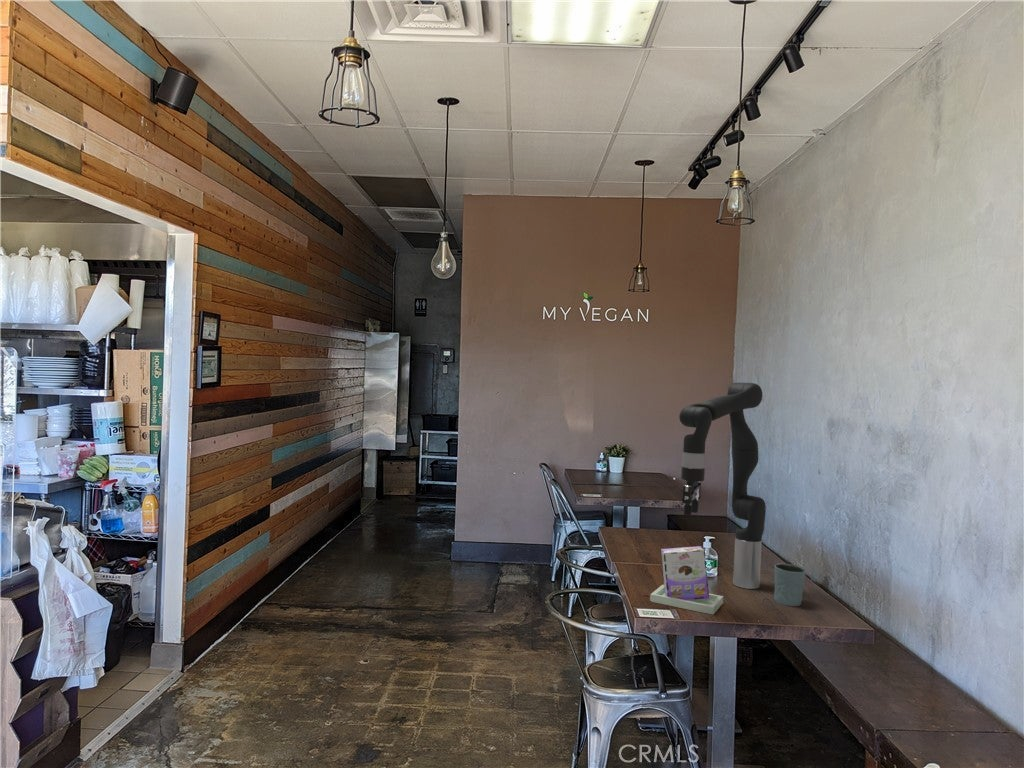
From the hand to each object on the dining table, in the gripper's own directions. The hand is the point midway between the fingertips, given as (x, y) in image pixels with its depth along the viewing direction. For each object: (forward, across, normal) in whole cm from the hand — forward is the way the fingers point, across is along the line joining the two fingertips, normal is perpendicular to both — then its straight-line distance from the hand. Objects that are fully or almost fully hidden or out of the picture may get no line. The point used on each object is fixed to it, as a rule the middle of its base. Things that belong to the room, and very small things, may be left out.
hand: (690, 514), depth 226 cm
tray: (+30, 0, 0) cm, 30 cm away
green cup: (+30, -23, +29) cm, 48 cm away
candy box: (+28, 0, 0) cm, 28 cm away
